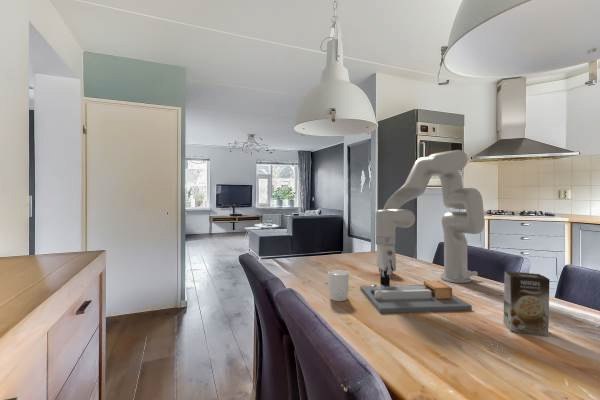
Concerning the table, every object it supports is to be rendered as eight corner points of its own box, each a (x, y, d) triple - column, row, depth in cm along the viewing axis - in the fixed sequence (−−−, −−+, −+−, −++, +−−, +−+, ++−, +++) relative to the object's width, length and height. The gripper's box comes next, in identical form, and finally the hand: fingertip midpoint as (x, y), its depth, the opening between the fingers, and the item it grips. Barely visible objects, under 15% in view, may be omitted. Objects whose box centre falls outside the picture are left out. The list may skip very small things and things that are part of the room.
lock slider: (438, 290, 115) (438, 280, 115) (452, 298, 106) (452, 287, 106) (423, 290, 114) (423, 281, 114) (436, 298, 105) (436, 288, 105)
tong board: (434, 287, 123) (434, 277, 123) (471, 309, 99) (471, 297, 99) (360, 289, 121) (360, 279, 121) (380, 312, 97) (379, 300, 97)
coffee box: (510, 332, 83) (510, 276, 83) (502, 322, 89) (503, 270, 89) (549, 337, 80) (550, 279, 80) (539, 327, 86) (539, 273, 86)
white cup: (324, 298, 111) (324, 272, 111) (336, 293, 117) (336, 268, 117) (341, 303, 106) (341, 276, 106) (353, 298, 112) (352, 272, 112)
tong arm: (424, 291, 113) (424, 285, 113) (426, 294, 110) (426, 287, 110) (369, 290, 115) (369, 284, 115) (370, 292, 112) (370, 286, 112)
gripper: (402, 243, 108) (401, 292, 108) (388, 238, 123) (387, 281, 123) (382, 243, 108) (381, 293, 108) (370, 238, 123) (370, 281, 123)
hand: (384, 286), depth 116 cm, fingers closed
